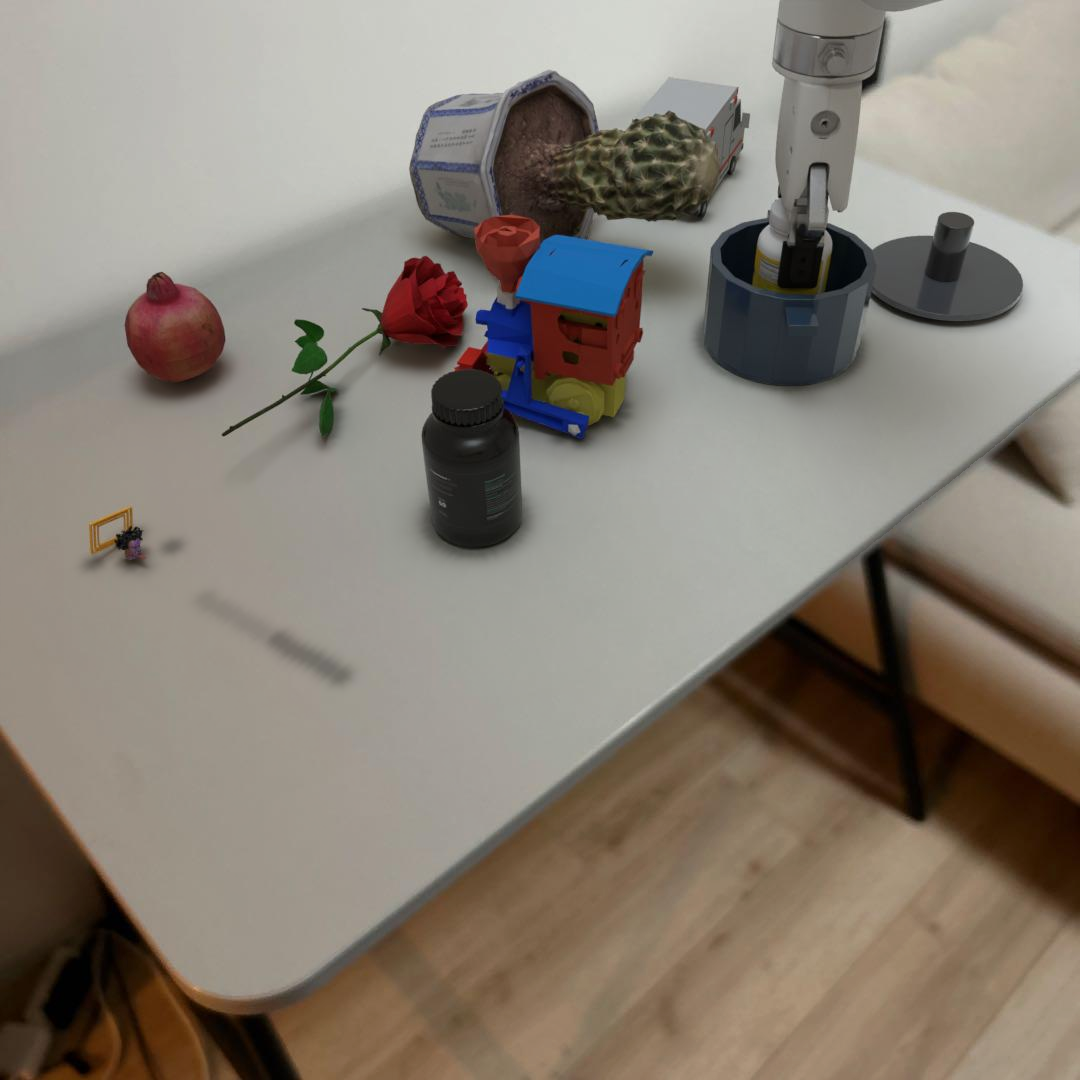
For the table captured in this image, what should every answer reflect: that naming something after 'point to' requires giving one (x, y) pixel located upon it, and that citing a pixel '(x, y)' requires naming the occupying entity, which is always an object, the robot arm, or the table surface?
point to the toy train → (558, 322)
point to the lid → (946, 274)
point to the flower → (387, 327)
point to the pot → (785, 312)
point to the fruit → (174, 330)
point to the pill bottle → (772, 248)
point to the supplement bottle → (472, 460)
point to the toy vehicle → (704, 117)
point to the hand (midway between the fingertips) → (792, 262)
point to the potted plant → (554, 161)
